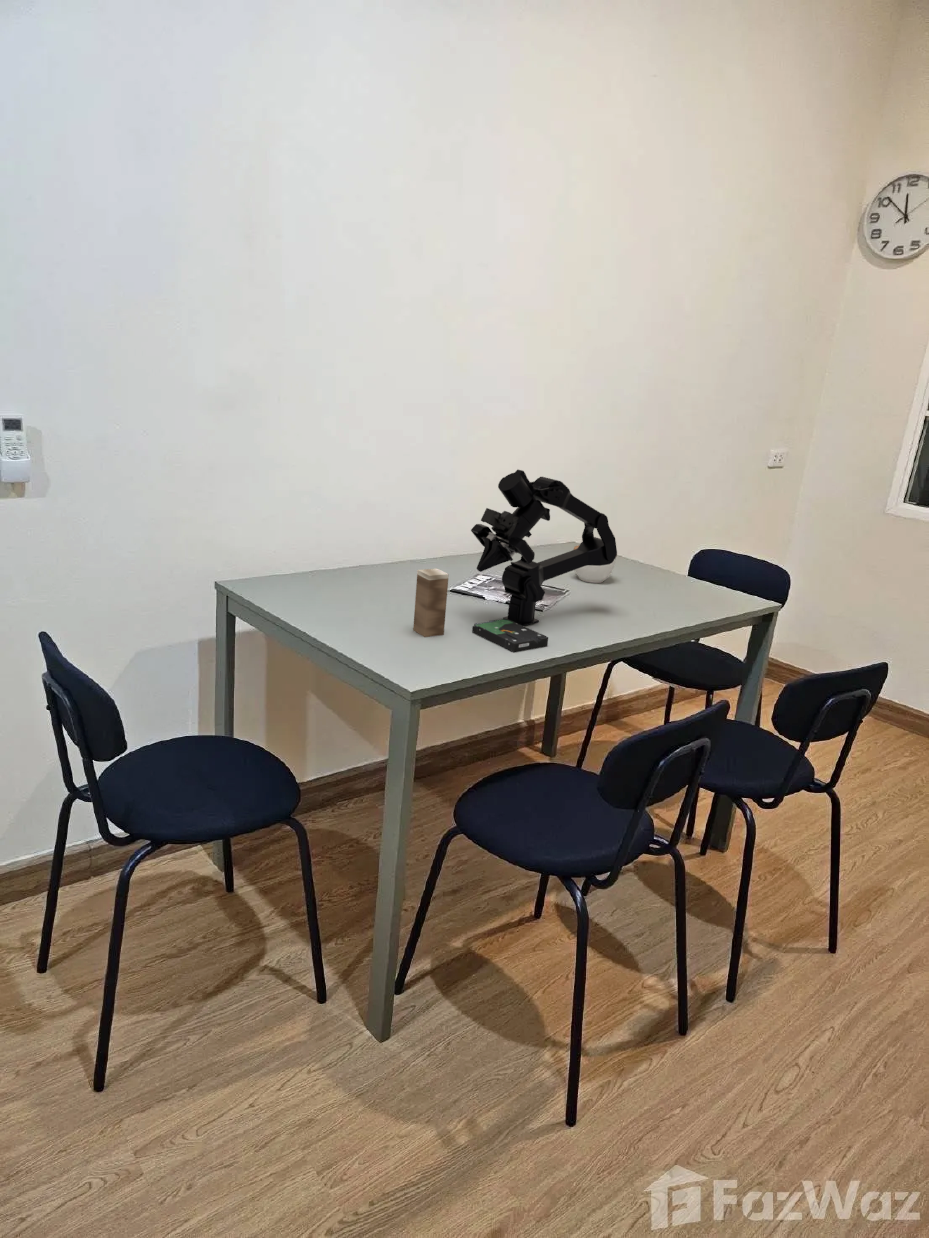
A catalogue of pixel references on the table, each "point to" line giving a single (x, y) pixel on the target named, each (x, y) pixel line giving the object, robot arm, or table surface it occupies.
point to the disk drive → (510, 635)
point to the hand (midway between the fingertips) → (478, 570)
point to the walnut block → (430, 602)
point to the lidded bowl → (595, 572)
